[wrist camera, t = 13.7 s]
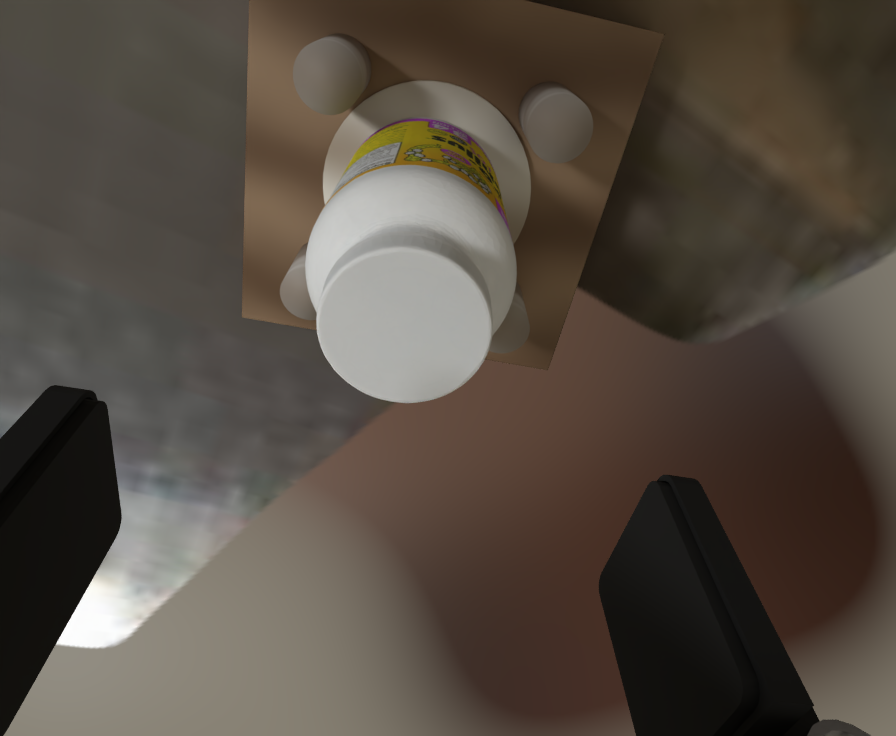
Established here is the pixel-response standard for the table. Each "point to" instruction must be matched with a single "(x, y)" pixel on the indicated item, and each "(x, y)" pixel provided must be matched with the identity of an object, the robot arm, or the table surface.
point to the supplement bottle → (411, 262)
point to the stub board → (450, 99)
